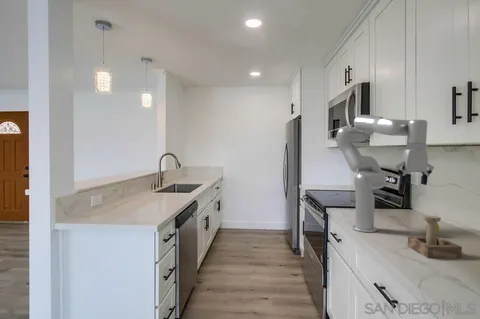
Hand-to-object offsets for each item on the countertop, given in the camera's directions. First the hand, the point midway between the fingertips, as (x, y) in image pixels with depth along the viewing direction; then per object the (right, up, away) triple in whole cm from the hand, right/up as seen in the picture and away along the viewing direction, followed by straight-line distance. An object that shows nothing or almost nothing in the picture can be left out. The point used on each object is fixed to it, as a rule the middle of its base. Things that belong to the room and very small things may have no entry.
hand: (413, 184), depth 136 cm
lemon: (+19, -28, +16) cm, 38 cm away
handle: (+4, -29, -7) cm, 30 cm away
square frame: (+4, -29, -8) cm, 30 cm away
